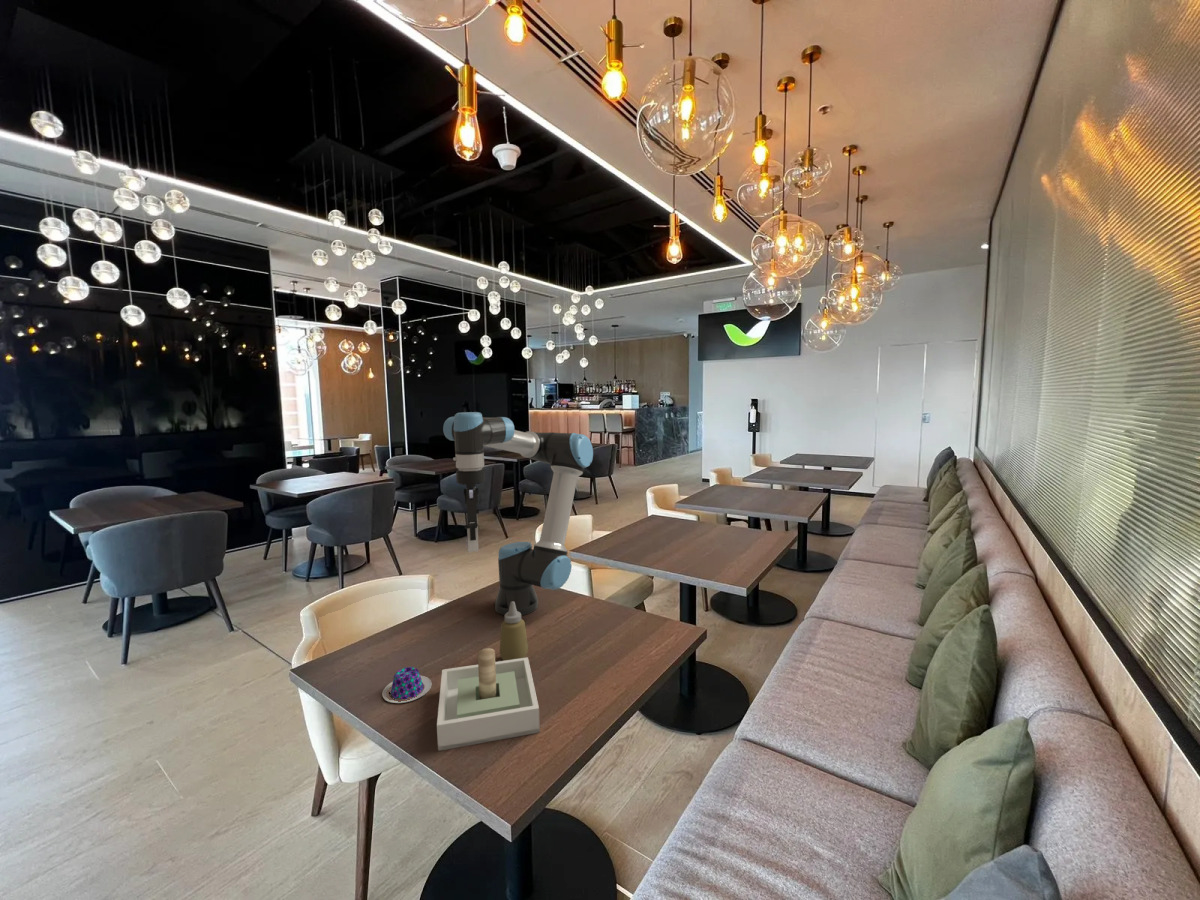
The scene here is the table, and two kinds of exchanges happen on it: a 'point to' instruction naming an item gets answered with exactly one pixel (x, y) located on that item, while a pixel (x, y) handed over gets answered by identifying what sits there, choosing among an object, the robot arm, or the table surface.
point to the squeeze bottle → (513, 635)
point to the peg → (487, 673)
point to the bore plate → (504, 698)
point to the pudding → (407, 685)
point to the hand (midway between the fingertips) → (473, 543)
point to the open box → (489, 724)
